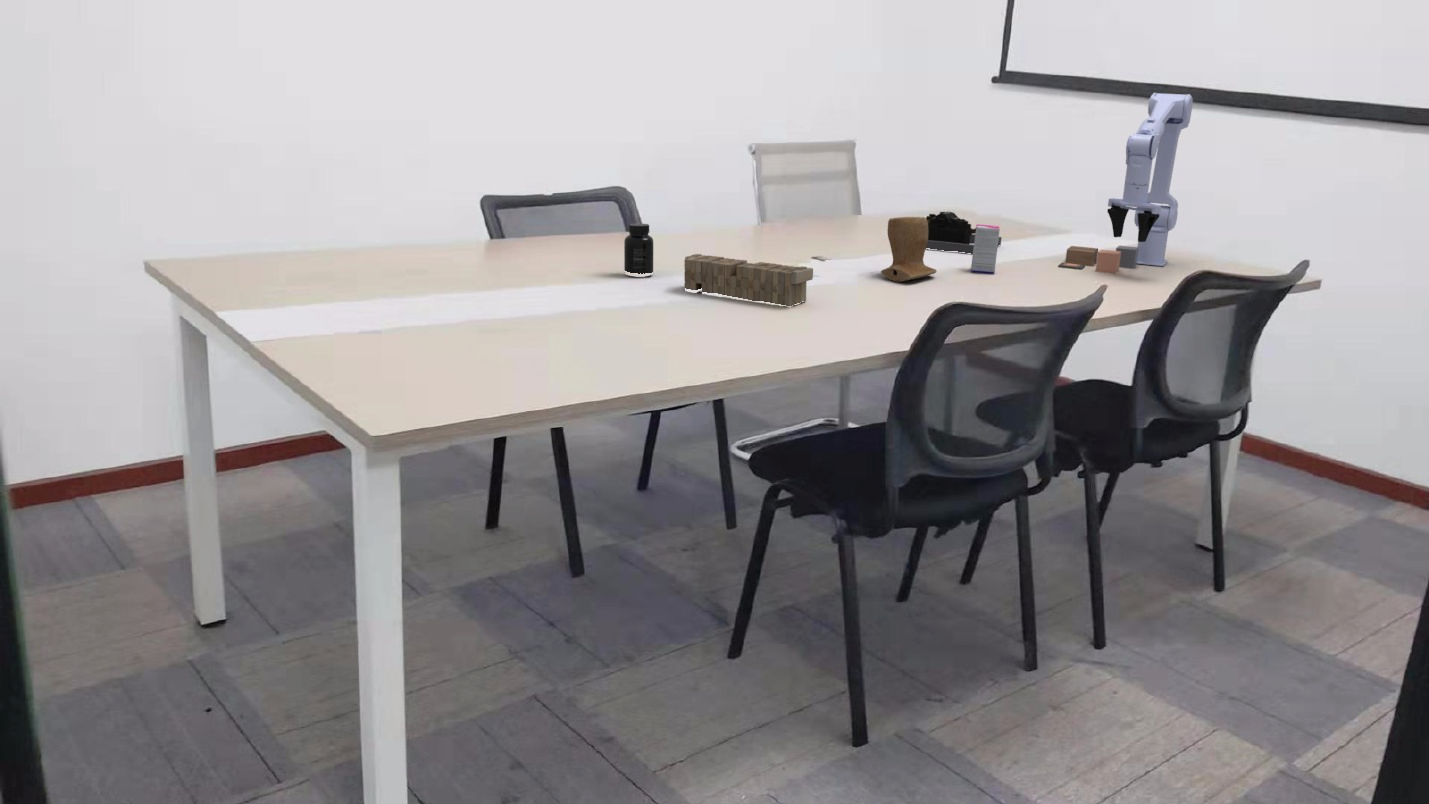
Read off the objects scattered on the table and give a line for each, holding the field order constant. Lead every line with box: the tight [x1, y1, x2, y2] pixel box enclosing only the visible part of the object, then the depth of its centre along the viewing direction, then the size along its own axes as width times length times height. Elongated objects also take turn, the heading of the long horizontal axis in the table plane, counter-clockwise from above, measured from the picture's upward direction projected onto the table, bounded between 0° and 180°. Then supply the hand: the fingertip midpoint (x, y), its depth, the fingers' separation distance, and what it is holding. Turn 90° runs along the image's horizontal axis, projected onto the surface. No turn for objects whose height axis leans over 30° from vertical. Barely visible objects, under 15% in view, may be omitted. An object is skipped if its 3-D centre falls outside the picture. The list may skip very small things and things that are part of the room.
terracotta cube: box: [1095, 249, 1121, 274], centre depth 300 cm, size 5×5×5 cm
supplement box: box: [970, 223, 1000, 275], centre depth 292 cm, size 6×6×12 cm
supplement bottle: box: [623, 222, 654, 274], centre depth 274 cm, size 7×7×12 cm
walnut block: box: [1064, 245, 1099, 267], centre depth 310 cm, size 7×7×4 cm
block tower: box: [683, 253, 814, 306], centre depth 255 cm, size 8×8×29 cm
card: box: [1057, 262, 1086, 270], centre depth 304 cm, size 5×6×1 cm
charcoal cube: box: [1115, 245, 1139, 270], centre depth 307 cm, size 5×5×5 cm
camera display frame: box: [926, 234, 1002, 255], centre depth 330 cm, size 20×24×2 cm
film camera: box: [925, 211, 976, 244], centre depth 329 cm, size 18×12×10 cm
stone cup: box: [880, 216, 937, 282], centre depth 281 cm, size 15×12×15 cm
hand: (1129, 239), depth 291 cm, fingers open, 7 cm apart
